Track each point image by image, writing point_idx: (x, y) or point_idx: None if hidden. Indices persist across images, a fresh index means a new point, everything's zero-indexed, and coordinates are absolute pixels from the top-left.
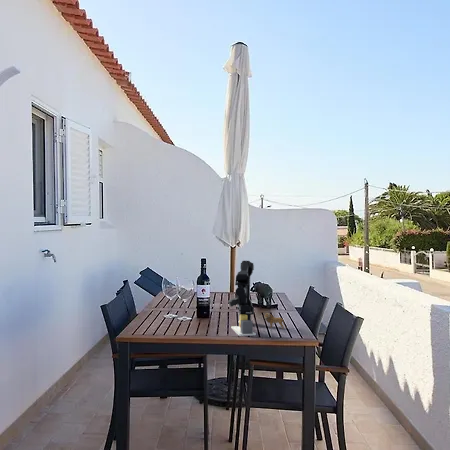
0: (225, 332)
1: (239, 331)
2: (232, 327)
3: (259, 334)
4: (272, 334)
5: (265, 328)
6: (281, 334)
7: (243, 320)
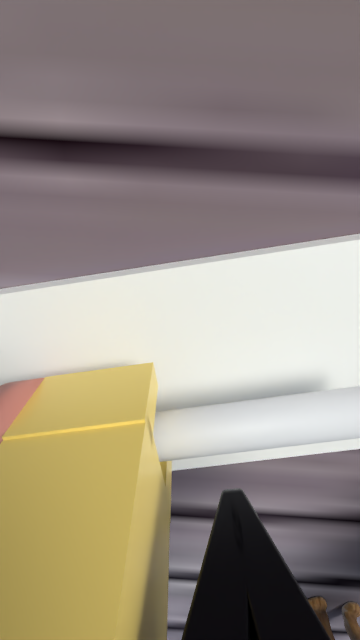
0: (37, 98)
1: (12, 336)
2: (308, 248)
3: None
4: None
5: None
6: None
7: None
